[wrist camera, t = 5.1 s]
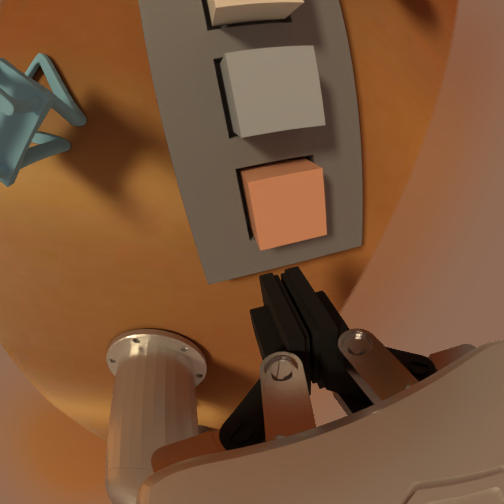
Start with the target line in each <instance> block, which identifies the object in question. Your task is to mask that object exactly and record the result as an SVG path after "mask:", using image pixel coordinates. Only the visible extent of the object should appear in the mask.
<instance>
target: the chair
mask: <svg viewBox="0 0 504 504" xmlns="http://www.w3.org/2000/svg"><path fill="white" fill-rule="evenodd" d="M40 65H41V68H42V70H43V72H44V74H45V76H46V78H47V81H48V83H49V85H50V87H51V89H52V91H53V93H54V94H53V93H52V92H51V91H49V90H48V89H46V88H45V87H44V86H42V85H41V84H39V83H38V82H36V81H34V80H33V79H32V77H33V76H34V74H35V73H36V71H37V69H38V68H39V66H40ZM51 107H52V108H53V109H54V110H55V111H56V112H58V113H59V114H60V115H61V116H62V117H63V118H65V119H66V120H67V121H68V122H69V123H71V124H72V125H74V126H83V125H85V124H86V122H87V119H86V117H85V115H84V114H83V113H82V112H81V110H80V109H79V108H78V106H77V105H76V103H75V102H74V100H73V99H72V97H71V95H70V94H69V92H68V90H67V88H66V87H65V85H64V83H63V81H62V79H61V78H60V76H59V74H58V72H57V70H56V68H55V67H54V65H53V63H52V61H51V60H50V59H49V57H48V56H47V55H46V54H42V53H39V54H38V55H37V56H36V57H35V58H34V60H33V62H32V63H31V65H30V66H29V68H28V69H27V71H26V73H25V74H24V73H22V72H21V71H19V70H18V69H17V68H16V67H15V66H13V65H12V64H11V63H9V62H8V61H7V60H6V59H4V58H0V181H1V182H2V183H3V184H4V185H6V186H7V187H9V186H10V185H12V184H14V182H15V179H16V177H17V174H18V172H19V170H20V169H21V168H23V167H25V166H27V165H29V164H32V163H34V162H36V161H39V160H41V159H44V158H47V157H49V156H52V155H55V154H58V153H61V152H66V151H69V149H70V147H71V144H70V142H69V141H68V140H66V139H64V138H62V137H59V136H56V135H53V134H49V133H45V132H41V131H37V130H38V128H39V127H40V125H41V123H42V122H43V120H44V118H45V117H46V115H47V113H48V112H49V110H50V108H51ZM31 142H34V143H37V144H40V145H37V146H33V147H30V148H28V147H29V145H30V143H31Z"/></svg>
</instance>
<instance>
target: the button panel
mask: <svg viewBox="0 0 504 504" xmlns="http://www.w3.org/2000/svg"><path fill="white" fill-rule="evenodd" d="M138 1H139V8H140V14H141V20H142V26H143V32H144V38H145V43H146V49H147V54H148V59H149V64H150V69H151V74H152V79H153V84H154V89H155V93H156V98H157V102H158V107H159V111H160V115H161V120H162V124H163V128H164V132H165V136H166V140H167V144H168V148H169V152H170V156H171V160H172V164H173V167H174V171H175V175H176V179H177V182H178V186H179V190H180V193H181V197H182V200H183V204H184V207H185V211H186V214H187V218H188V221H189V224H190V228H191V231H192V234H193V238H194V241H195V244H196V247H197V251H198V254H199V257H200V260H201V263H202V266H203V270H204V273H205V276H206V279H207V282H208V284H213V283H217V282H221V281H225V280H229V279H233V278H238V277H242V276H246V275H250V274H254V273H258V272H262V271H266V270H270V269H274V268H278V267H282V266H286V265H290V264H294V263H298V262H302V261H306V260H309V259H313V258H317V257H321V256H325V255H329V254H332V253H336V252H340V251H344V250H347V249H351V248H355V247H359V246H362V226H363V181H362V155H361V138H360V125H359V114H358V105H357V96H356V88H355V80H354V73H353V67H352V61H351V55H350V49H349V44H348V39H347V34H346V29H345V24H344V20H343V15H342V11H341V7H340V3H339V0H303V1H304V3H303V4H302V5H300V6H299V7H298V8H297V9H296V10H294V11H293V12H292V13H291V14H290V15H289V16H287V17H286V18H285V19H278V20H261V21H249V22H240V23H232V24H225V25H218V26H212V22H211V17H210V12H209V8H208V3H207V0H138ZM284 46H314V52H315V57H316V63H317V68H318V75H319V81H320V87H321V94H322V101H323V109H324V117H325V125H322V126H313V127H305V128H298V129H291V130H284V131H277V132H271V133H265V134H259V135H254V136H249V137H243V138H241V137H240V136H238V135H237V134H236V133H234V132H233V128H232V122H231V117H230V112H229V107H228V102H227V97H226V92H225V87H224V82H223V77H222V72H221V67H220V63H221V61H222V58H223V56H224V54H225V53H229V52H236V51H243V50H251V49H260V48H270V47H284ZM296 157H304V158H306V159H307V160H309V161H311V162H313V163H314V164H316V165H318V166H320V167H321V168H323V179H324V193H325V208H326V227H327V235H323V236H319V237H315V238H311V239H307V240H303V241H299V242H295V243H290V244H286V245H282V246H278V247H274V248H270V249H266V250H262V251H260V249H259V247H258V244H257V242H256V239H255V237H254V234H253V232H252V229H251V227H250V222H249V217H248V212H247V207H246V202H245V197H244V191H243V186H242V181H241V176H240V171H239V168H243V167H248V166H253V165H258V164H263V163H268V162H273V161H279V160H284V159H290V158H296Z"/></svg>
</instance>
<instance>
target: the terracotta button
mask: <svg viewBox="0 0 504 504" xmlns="http://www.w3.org/2000/svg"><path fill="white" fill-rule="evenodd" d="M239 171H240V176H241V181H242V186H243V191H244V197H245V202H246V207H247V212H248V217H249V222H250V227H251V229H252V232H253V234H254V237H255V239H256V242H257V244H258V247H259V249H260V251H262V250H266V249H270V248H274V247H278V246H282V245H286V244H290V243H295V242H299V241H303V240H307V239H311V238H315V237H319V236H323V235H327V227H326V208H325V193H324V179H323V168H321V167H320V166H318V165H316V164H314V163H313V162H311V161H309V160H307V159H306V158H304V157H296V158H290V159H284V160H279V161H273V162H268V163H263V164H258V165H253V166H248V167H243V168H239Z"/></svg>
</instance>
